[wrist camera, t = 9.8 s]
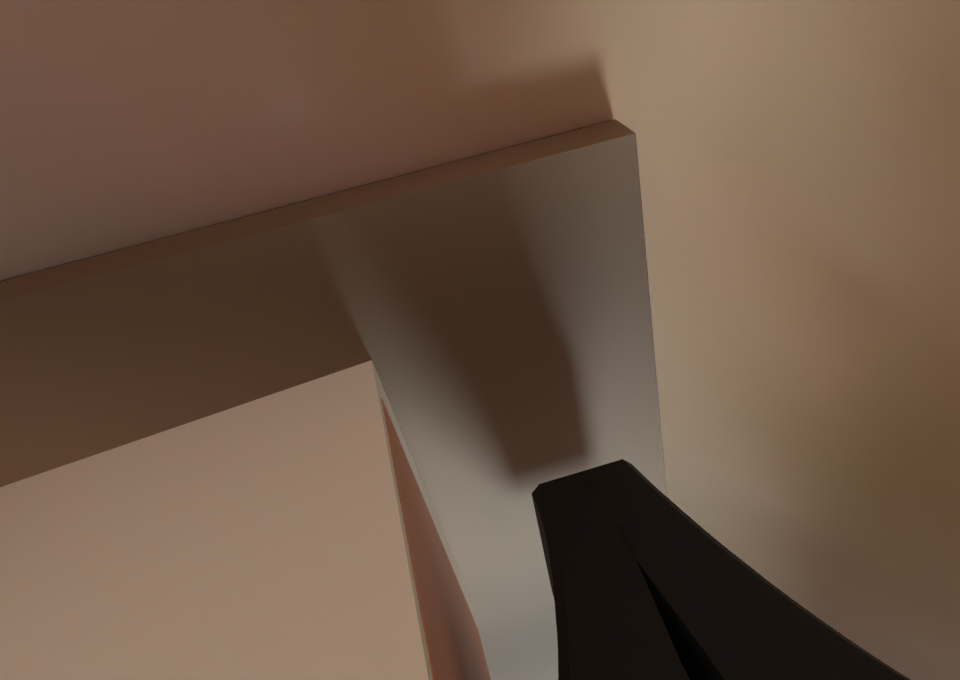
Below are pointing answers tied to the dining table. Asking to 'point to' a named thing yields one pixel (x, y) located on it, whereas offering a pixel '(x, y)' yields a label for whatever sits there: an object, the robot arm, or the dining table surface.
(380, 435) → the cream box brown top
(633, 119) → the dining table surface
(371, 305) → the shelf
